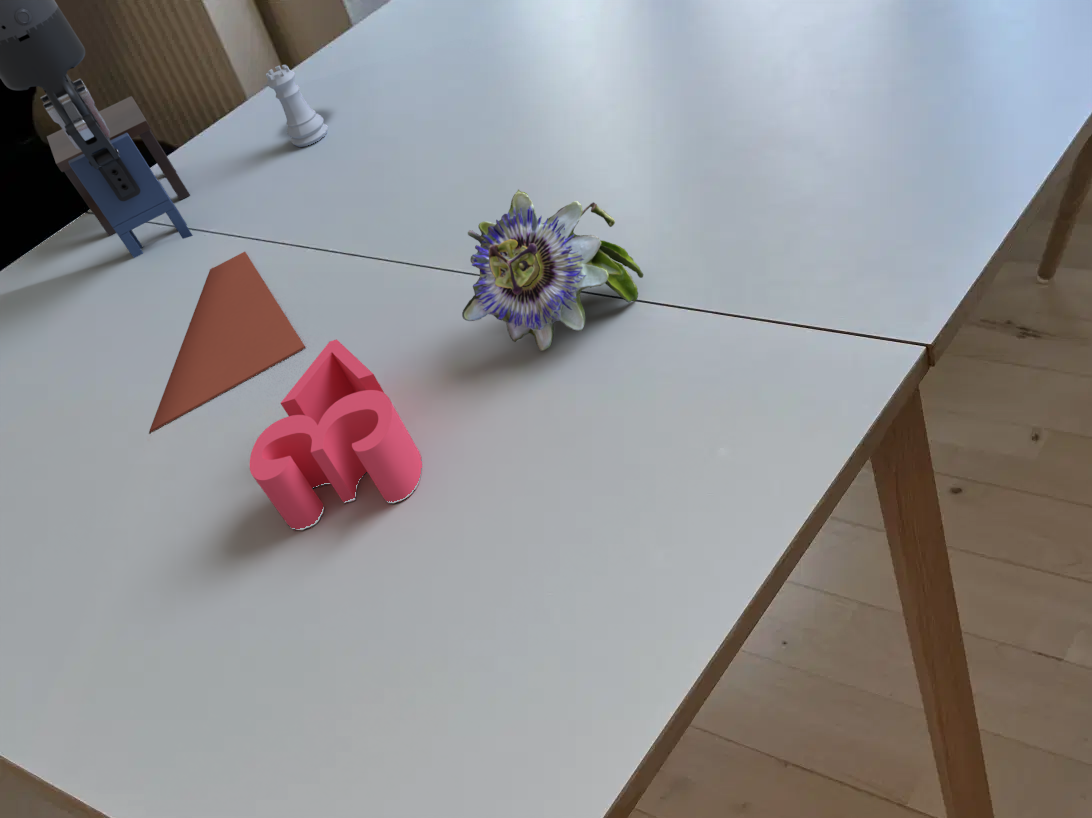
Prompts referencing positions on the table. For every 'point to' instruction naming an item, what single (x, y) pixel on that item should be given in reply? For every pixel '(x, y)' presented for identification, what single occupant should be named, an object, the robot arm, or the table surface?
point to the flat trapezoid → (227, 339)
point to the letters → (334, 440)
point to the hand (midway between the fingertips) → (129, 193)
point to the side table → (119, 122)
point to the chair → (137, 208)
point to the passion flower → (543, 270)
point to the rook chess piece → (296, 108)
